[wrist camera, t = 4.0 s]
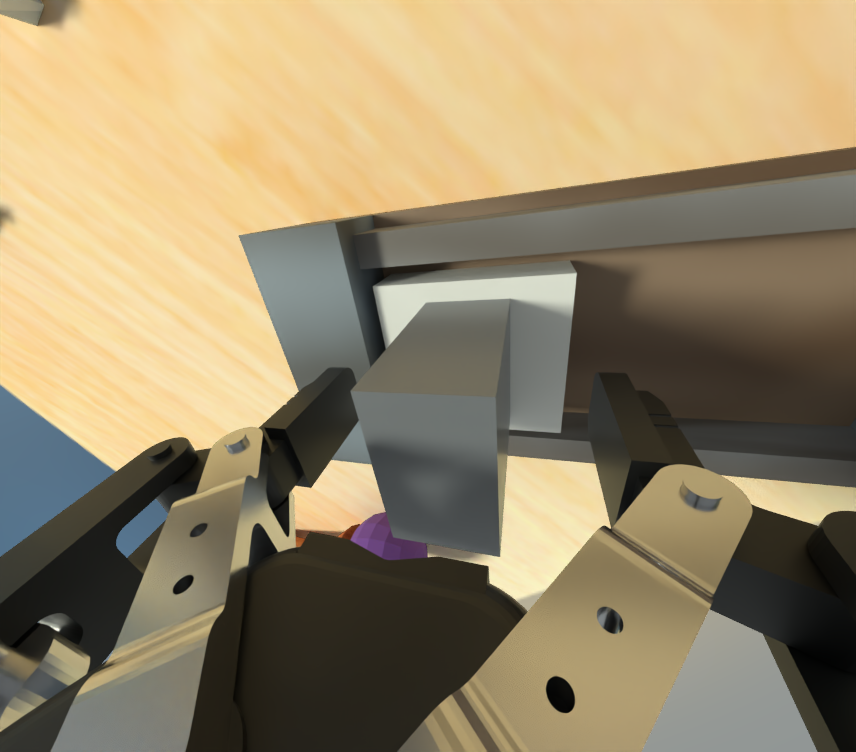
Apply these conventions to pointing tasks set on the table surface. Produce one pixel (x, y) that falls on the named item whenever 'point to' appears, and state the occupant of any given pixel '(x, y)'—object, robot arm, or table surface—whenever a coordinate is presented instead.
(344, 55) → the table surface
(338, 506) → the table surface
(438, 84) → the table surface
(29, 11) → the paper cutter
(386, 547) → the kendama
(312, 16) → the table surface
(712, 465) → the grey stepped base
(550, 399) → the carriage
